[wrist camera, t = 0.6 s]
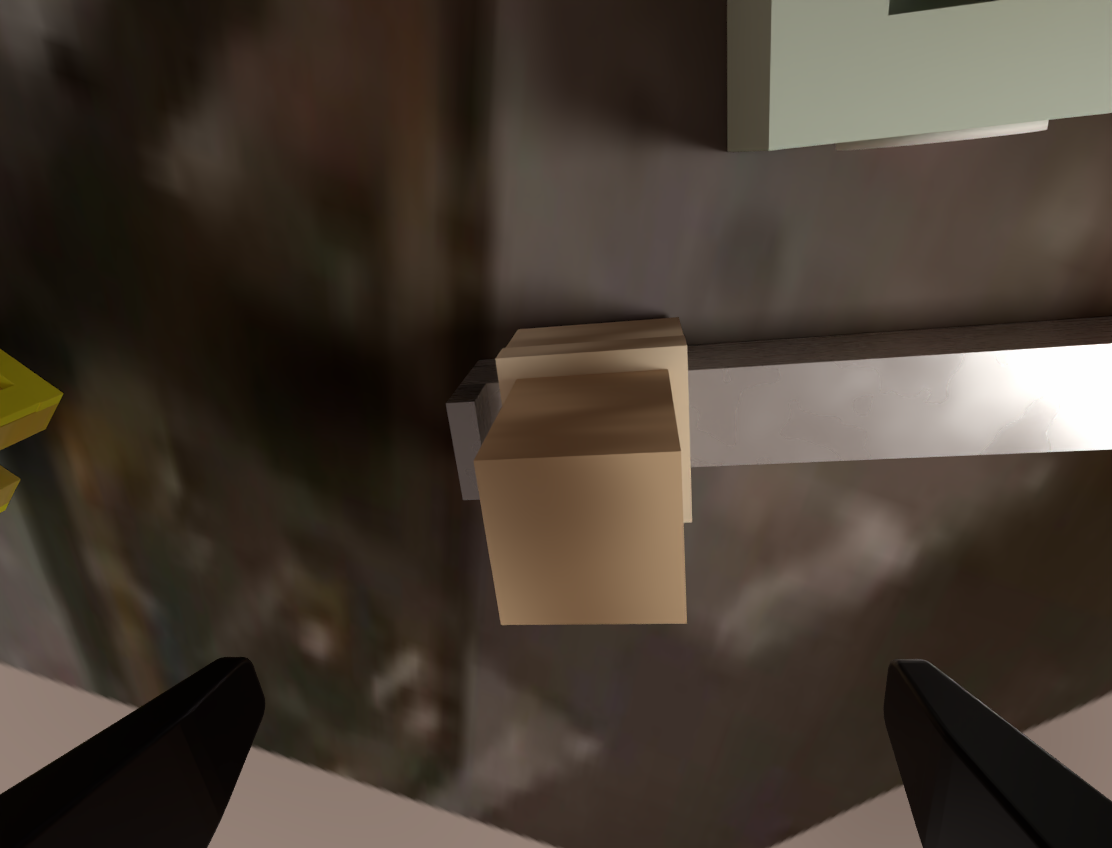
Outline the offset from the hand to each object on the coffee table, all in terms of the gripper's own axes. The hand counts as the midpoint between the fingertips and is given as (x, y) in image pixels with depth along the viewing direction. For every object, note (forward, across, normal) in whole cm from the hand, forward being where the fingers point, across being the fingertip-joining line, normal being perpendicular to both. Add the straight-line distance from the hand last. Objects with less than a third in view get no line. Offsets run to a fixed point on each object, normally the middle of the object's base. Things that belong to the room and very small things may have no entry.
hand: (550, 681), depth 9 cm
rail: (+13, -7, 0) cm, 15 cm away
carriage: (+13, 0, 0) cm, 13 cm away
